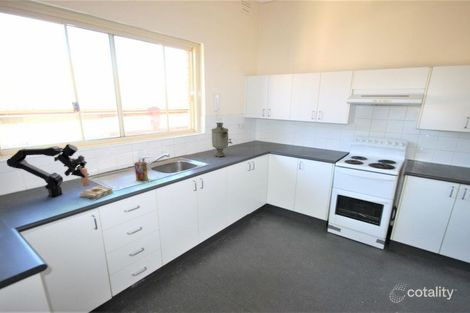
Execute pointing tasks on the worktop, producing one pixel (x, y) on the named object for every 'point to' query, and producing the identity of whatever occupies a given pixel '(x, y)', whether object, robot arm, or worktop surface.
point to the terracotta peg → (85, 180)
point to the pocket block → (96, 192)
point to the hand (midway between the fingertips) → (86, 176)
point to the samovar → (220, 139)
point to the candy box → (141, 170)
